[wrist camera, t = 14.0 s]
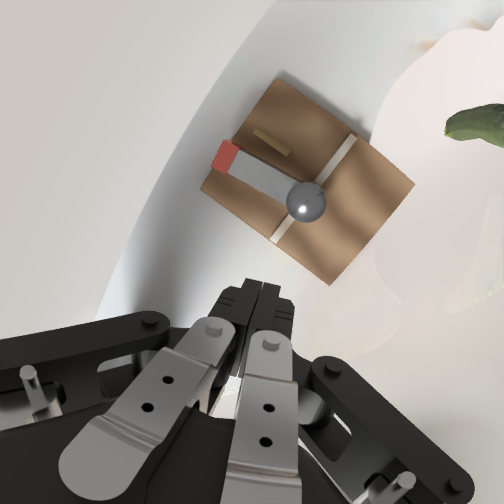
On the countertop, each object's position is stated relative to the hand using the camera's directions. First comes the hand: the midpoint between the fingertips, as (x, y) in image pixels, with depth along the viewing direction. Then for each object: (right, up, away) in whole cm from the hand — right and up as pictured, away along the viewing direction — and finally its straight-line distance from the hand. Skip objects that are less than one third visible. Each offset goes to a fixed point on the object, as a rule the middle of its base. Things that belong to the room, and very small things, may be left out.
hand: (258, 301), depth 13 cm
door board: (+7, +11, +27) cm, 30 cm away
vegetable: (+26, +18, +20) cm, 38 cm away
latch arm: (+2, +11, +24) cm, 26 cm away
